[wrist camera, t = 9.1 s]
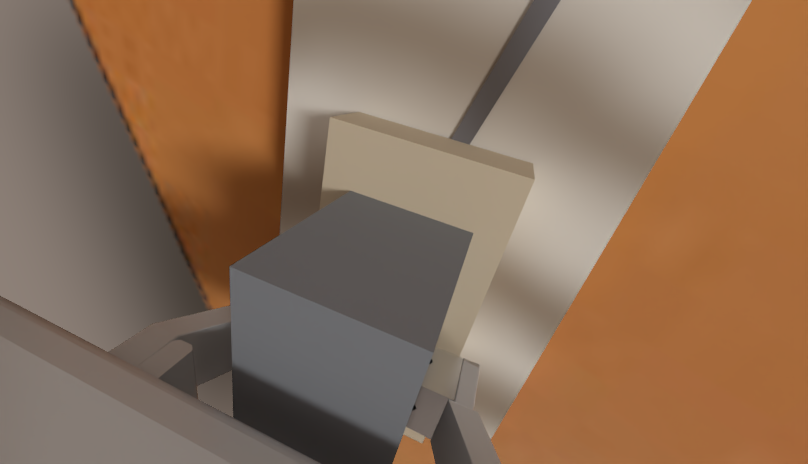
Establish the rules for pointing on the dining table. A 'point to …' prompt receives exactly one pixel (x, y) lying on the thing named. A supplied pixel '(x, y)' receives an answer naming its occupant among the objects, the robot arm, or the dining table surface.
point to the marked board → (510, 126)
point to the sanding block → (369, 288)
